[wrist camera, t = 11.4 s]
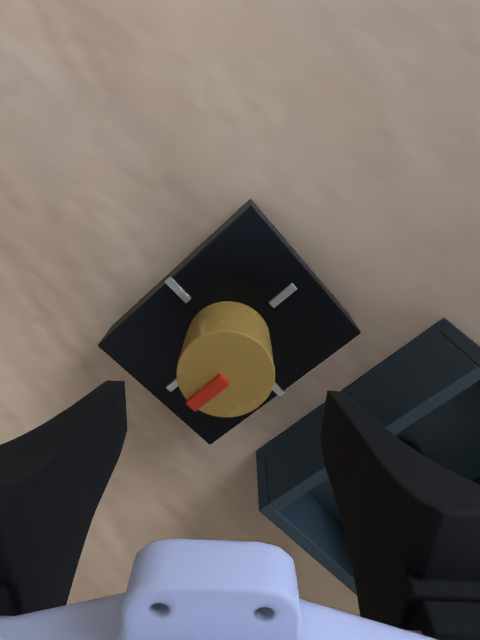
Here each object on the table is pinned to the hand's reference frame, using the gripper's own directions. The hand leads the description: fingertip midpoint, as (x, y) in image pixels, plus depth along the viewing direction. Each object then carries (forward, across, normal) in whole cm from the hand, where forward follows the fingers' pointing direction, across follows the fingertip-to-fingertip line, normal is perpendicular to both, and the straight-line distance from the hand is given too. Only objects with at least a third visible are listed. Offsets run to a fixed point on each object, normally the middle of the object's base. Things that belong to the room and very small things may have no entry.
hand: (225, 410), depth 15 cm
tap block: (+8, 0, 0) cm, 8 cm away
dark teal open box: (+8, -11, +8) cm, 15 cm away
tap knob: (+6, 0, 0) cm, 6 cm away
